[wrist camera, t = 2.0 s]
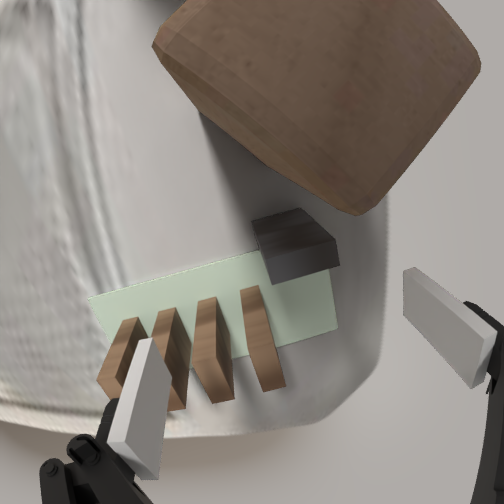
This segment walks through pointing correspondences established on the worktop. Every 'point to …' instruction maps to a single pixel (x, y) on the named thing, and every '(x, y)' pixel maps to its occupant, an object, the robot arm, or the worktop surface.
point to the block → (323, 84)
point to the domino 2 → (213, 351)
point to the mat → (225, 301)
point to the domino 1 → (174, 354)
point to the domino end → (120, 357)
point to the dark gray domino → (294, 245)
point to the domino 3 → (260, 340)
